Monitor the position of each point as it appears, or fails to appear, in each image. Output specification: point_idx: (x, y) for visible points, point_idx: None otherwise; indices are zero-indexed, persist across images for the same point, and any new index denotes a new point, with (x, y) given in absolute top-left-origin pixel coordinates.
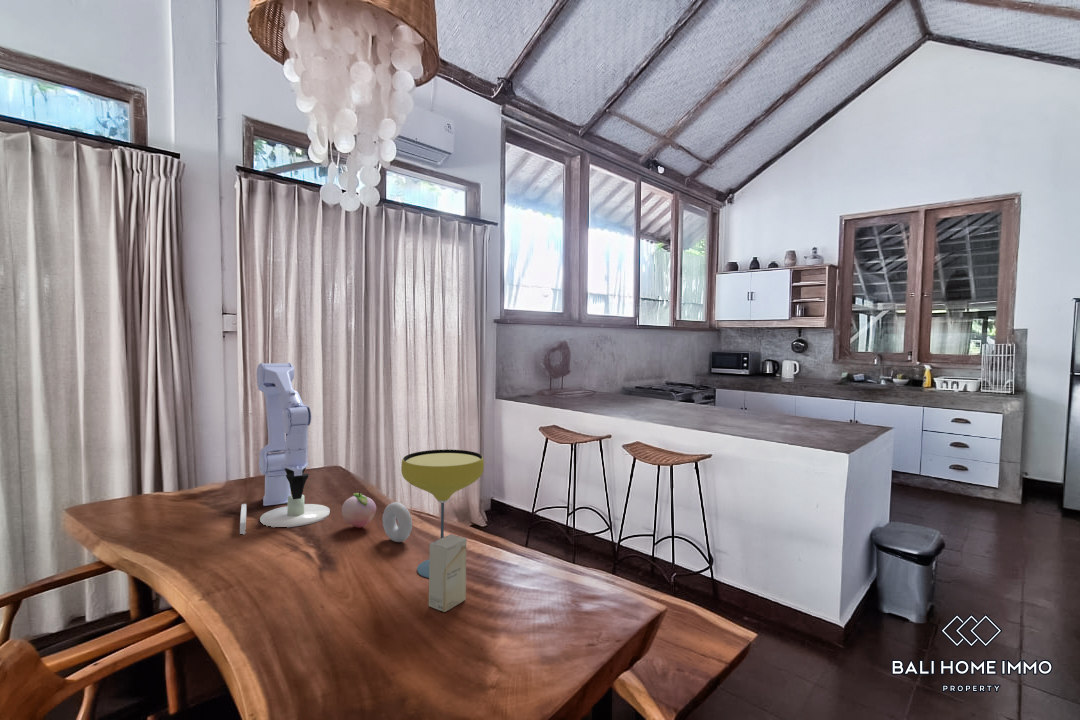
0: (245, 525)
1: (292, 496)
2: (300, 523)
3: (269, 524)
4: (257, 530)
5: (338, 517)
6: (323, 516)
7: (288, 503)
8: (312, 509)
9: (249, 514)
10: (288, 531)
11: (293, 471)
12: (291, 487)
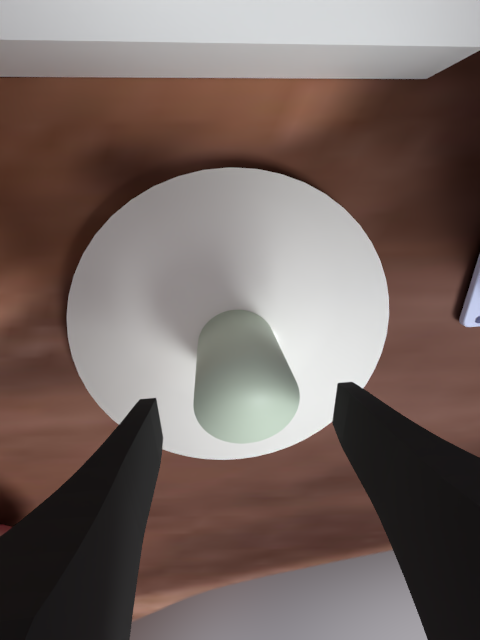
0: (25, 58)
1: (130, 411)
2: (75, 364)
3: (106, 223)
4: (63, 155)
5: None
6: None
7: (220, 345)
8: None
9: (402, 100)
10: (10, 311)
11: (467, 578)
12: (70, 481)
